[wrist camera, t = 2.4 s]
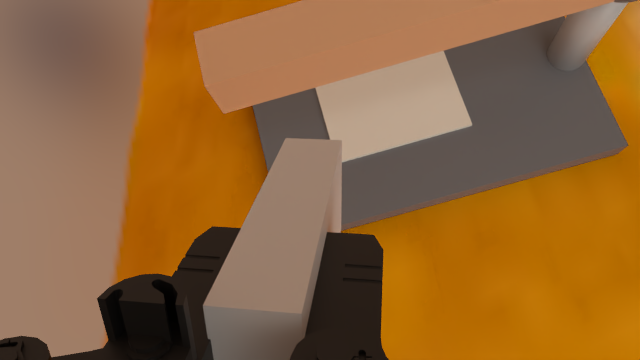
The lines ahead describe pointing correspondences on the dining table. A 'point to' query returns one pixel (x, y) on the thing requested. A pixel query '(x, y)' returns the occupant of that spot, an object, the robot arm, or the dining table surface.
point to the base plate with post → (458, 118)
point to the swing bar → (349, 40)
